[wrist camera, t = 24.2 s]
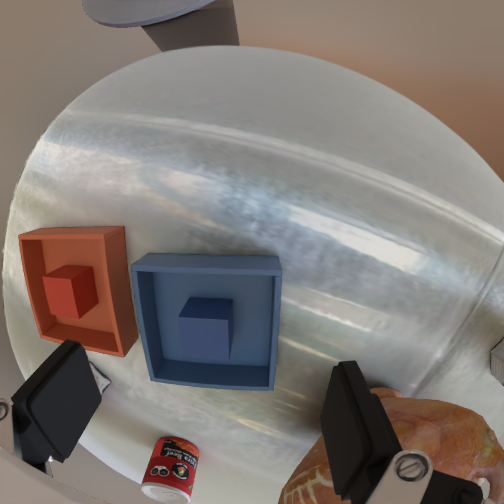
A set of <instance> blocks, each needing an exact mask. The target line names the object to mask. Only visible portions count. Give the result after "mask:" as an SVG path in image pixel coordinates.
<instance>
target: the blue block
mask: <svg viewBox="0 0 504 504" xmlns="http://www.w3.org/2000/svg"><path fill="white" fill-rule="evenodd" d="M178 324H179V333H180V341H181V349H182V357H183V358H191V359H203V360H217V361H229V360H230V354H231V348H232V342H233V299H217V298H196V297H189V299H188V300H187V302H186V304H185V305H184V307H183V309H182V311H181V312H180V314H179V316H178Z"/></svg>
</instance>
